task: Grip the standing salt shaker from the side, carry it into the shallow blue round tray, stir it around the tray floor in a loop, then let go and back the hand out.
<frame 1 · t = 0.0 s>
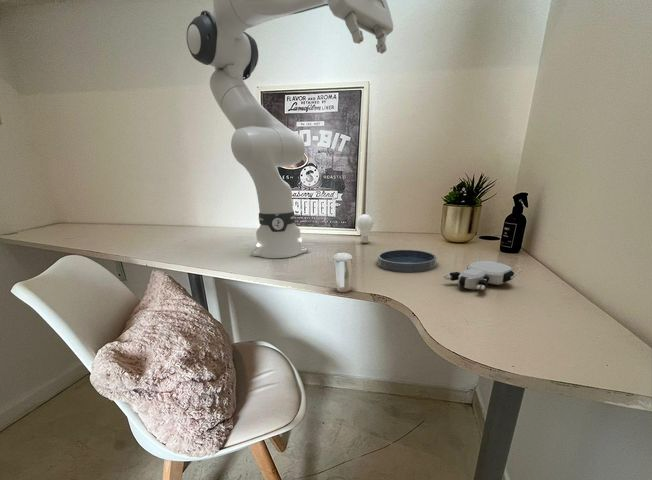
hand: (371, 47, 75), 52 cm above the table, tool tilted 20°, fingers open, 8 cm apart
salt shaker: (345, 290, 81), on the table
robot toy: (479, 285, 83), on the table
blue round tray: (406, 264, 101), on the table
lightbulb: (364, 243, 130), on the table
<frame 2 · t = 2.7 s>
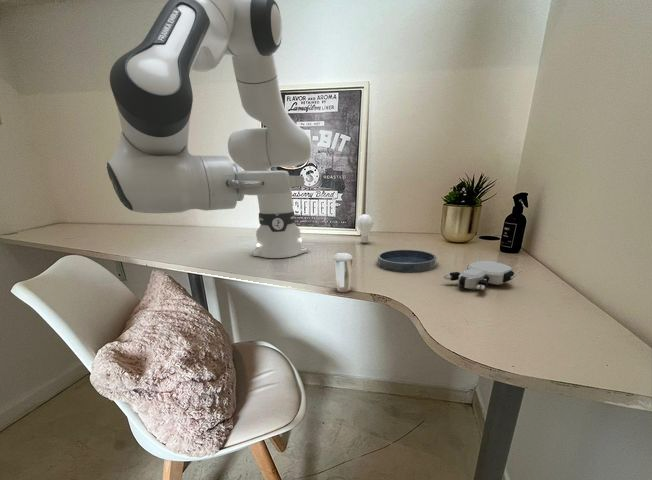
hand: (292, 180, 65), 25 cm above the table, tool horizontal, fingers open, 8 cm apart
nothing on the table moved.
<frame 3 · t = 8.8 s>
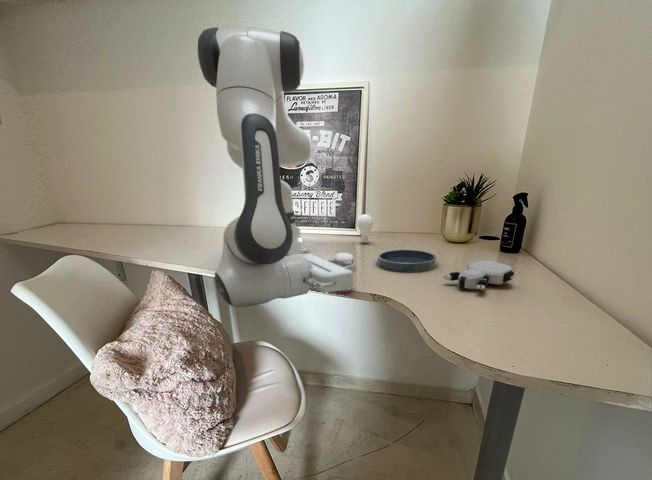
hand: (347, 265, 79), 6 cm above the table, tool horizontal, fingers closed on salt shaker, 4 cm apart
salt shaker: (345, 290, 81), on the table, touching gripper
everything else where it was.
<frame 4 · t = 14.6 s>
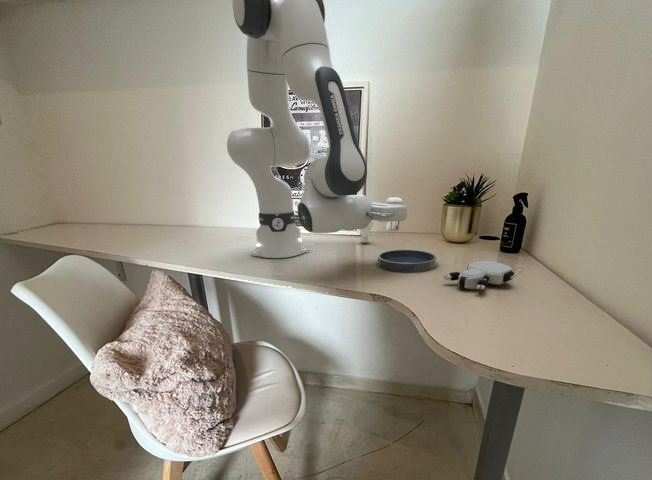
hand: (397, 208, 95), 16 cm above the table, tool horizontal, fingers closed on salt shaker, 4 cm apart
salt shaker: (393, 230, 97), point 10 cm above the table, touching gripper
everything else where it was.
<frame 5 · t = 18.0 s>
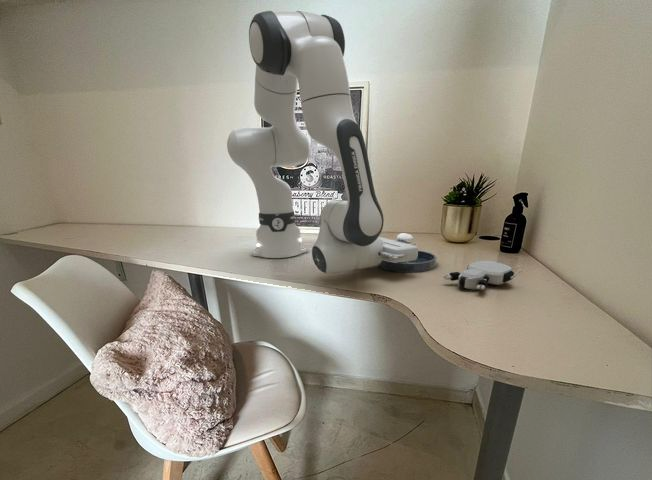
hand: (407, 244, 97), 6 cm above the table, tool horizontal, fingers closed on salt shaker, 4 cm apart
salt shaker: (402, 264, 100), resting in blue round tray, touching gripper
everything else where it was.
when the fingers open (6 cm above the table, at t = 20.9 s): salt shaker moves 1 cm, resting on blue round tray.
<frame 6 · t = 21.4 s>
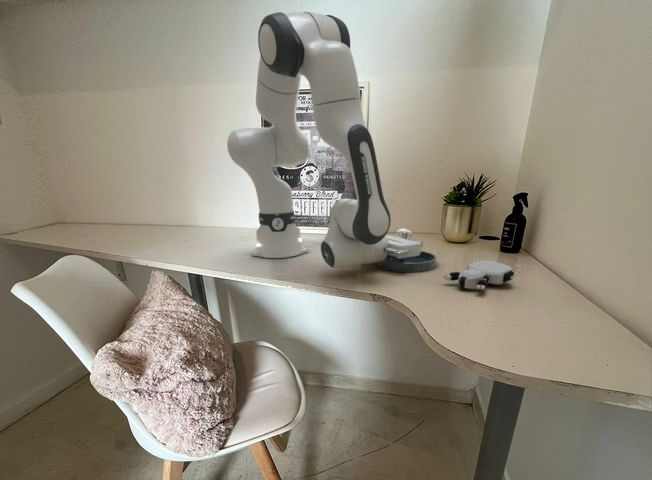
hand: (410, 241, 102), 6 cm above the table, tool horizontal, fingers open, 8 cm apart
salt shaker: (400, 259, 104), point 1 cm above the table, touching blue round tray, gripper
everything else where it was.
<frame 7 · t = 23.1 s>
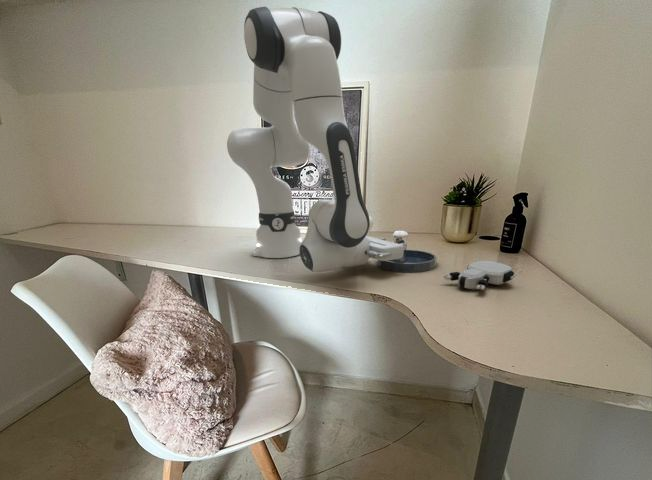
hand: (394, 243, 99), 6 cm above the table, tool horizontal, fingers open, 8 cm apart
salt shaker: (400, 261, 104), resting on blue round tray
everything else where it was.
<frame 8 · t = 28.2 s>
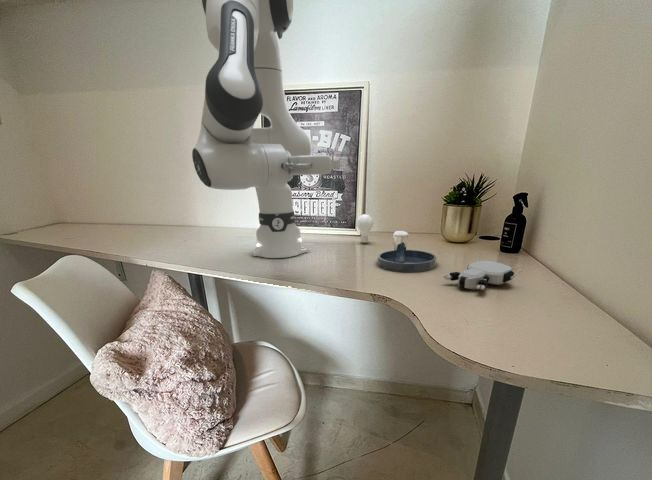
hand: (328, 165, 80), 28 cm above the table, tool horizontal, fingers open, 8 cm apart
nothing on the table moved.
at the end: salt shaker inside the target area in the blue round tray (3.1 cm from its centre), point 0.2 cm above the blue round tray's base; salt shaker tilted 0°; the gripper is holding nothing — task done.
